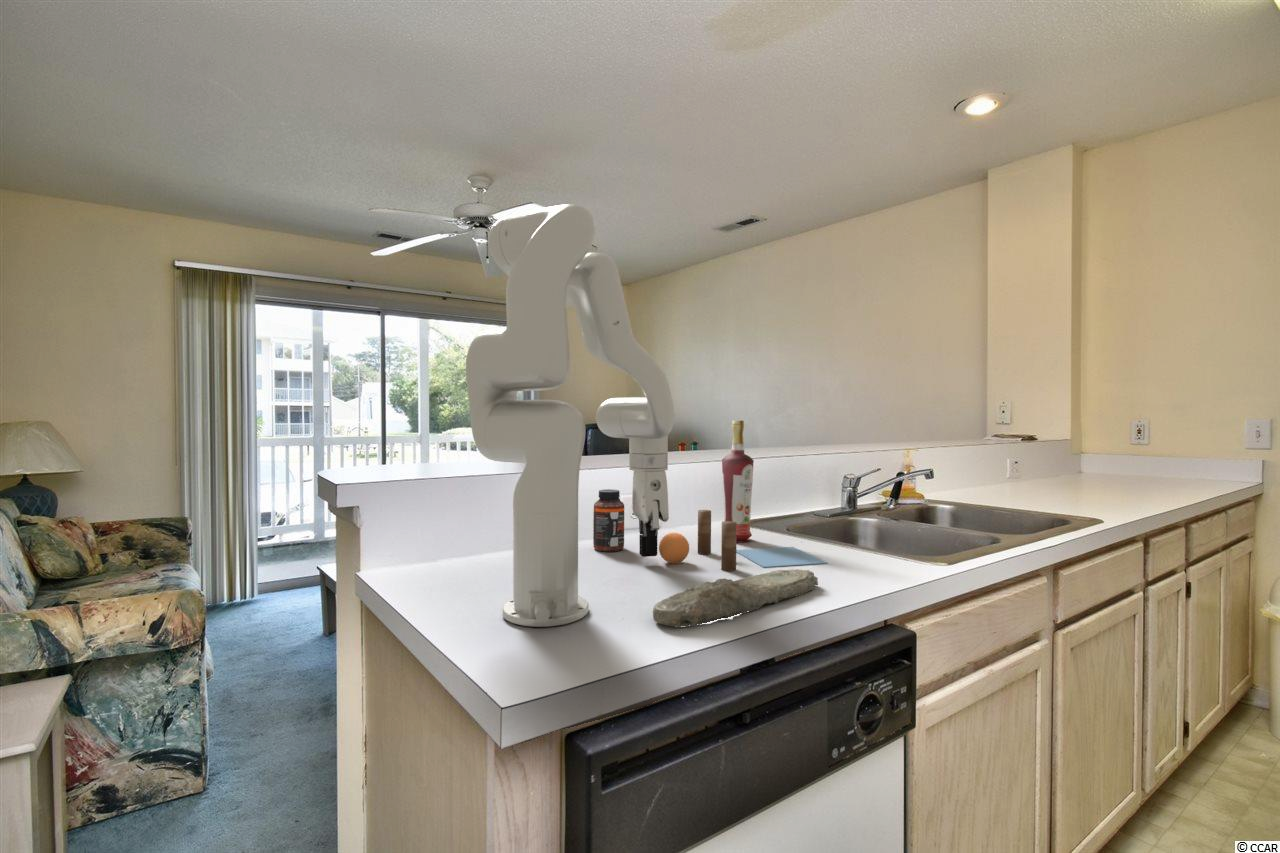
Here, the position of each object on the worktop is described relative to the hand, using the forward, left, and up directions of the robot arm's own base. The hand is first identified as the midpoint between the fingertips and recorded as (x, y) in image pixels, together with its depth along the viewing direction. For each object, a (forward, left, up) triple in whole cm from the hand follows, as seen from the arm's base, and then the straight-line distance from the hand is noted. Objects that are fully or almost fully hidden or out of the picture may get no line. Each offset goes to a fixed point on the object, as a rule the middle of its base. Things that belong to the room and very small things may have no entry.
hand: (648, 555), depth 116 cm
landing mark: (0, -28, -2) cm, 28 cm away
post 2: (-7, -14, -2) cm, 16 cm away
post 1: (+6, -14, -2) cm, 15 cm away
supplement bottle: (+15, +5, -2) cm, 16 cm away
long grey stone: (-26, -8, -3) cm, 27 cm away
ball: (0, -5, +1) cm, 5 cm away
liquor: (+17, -26, -2) cm, 31 cm away
